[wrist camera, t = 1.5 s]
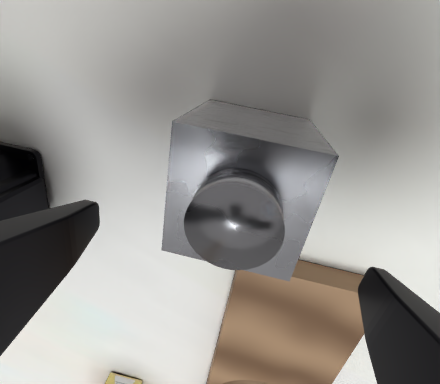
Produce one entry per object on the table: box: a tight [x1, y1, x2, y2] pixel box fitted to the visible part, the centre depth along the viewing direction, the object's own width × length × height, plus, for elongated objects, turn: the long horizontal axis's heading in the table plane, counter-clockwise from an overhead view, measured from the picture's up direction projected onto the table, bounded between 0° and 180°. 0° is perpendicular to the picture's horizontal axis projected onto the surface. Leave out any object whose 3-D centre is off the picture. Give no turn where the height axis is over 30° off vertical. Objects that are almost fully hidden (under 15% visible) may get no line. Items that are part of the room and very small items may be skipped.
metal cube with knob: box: [162, 100, 339, 282], centre depth 13 cm, size 6×6×8 cm
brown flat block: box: [206, 260, 364, 384], centre depth 22 cm, size 22×10×5 cm, turn 170°
